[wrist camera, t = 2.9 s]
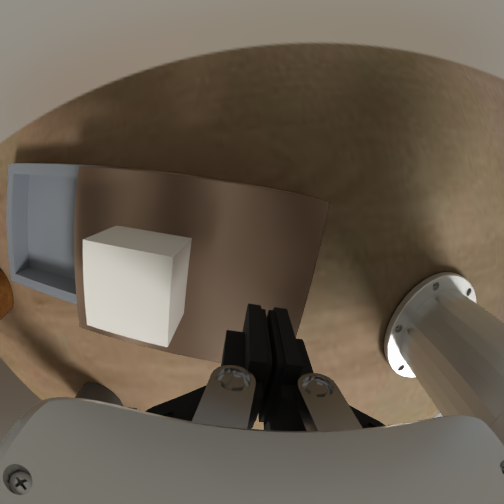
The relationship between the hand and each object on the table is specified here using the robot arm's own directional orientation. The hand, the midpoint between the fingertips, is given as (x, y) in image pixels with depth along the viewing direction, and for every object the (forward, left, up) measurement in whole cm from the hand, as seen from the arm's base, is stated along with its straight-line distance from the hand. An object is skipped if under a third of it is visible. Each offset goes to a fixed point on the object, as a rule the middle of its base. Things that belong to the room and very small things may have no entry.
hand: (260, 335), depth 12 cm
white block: (+7, 0, -5) cm, 9 cm away
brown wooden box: (+5, 0, -11) cm, 12 cm away
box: (+19, 0, -11) cm, 22 cm away
